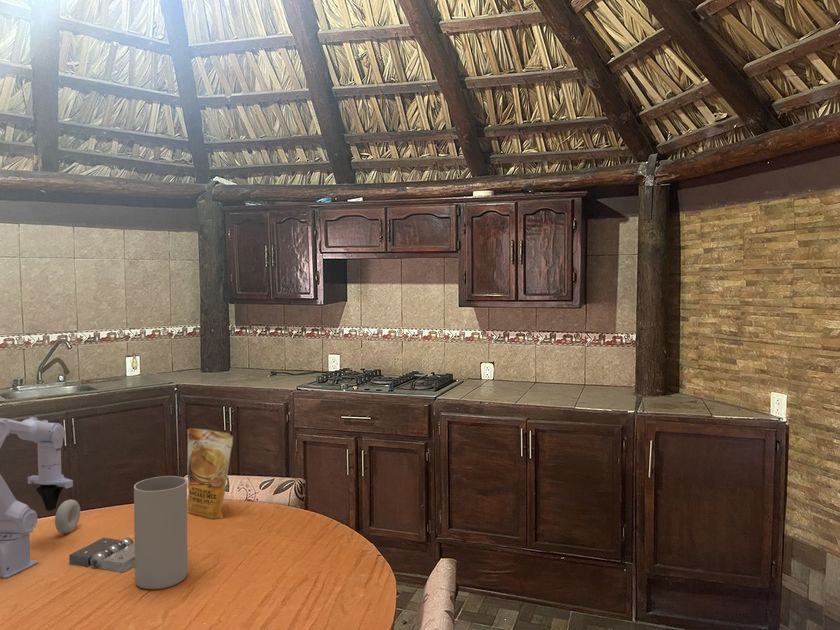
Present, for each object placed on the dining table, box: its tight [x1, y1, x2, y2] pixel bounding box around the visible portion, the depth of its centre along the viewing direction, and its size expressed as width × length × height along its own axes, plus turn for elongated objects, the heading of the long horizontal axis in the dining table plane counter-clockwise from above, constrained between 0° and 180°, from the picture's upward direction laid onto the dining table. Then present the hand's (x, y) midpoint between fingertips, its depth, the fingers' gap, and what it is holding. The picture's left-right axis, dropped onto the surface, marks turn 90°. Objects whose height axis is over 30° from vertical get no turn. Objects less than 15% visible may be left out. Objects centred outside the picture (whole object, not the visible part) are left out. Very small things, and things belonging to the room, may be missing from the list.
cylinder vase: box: [133, 475, 189, 591], centre depth 155 cm, size 12×12×25 cm
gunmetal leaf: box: [68, 537, 126, 568], centre depth 168 cm, size 12×10×4 cm
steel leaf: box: [90, 537, 135, 574], centre depth 166 cm, size 13×11×4 cm
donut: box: [54, 499, 81, 535], centre depth 185 cm, size 10×4×10 cm, turn 179°
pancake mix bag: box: [186, 427, 234, 520], centre depth 201 cm, size 7×19×28 cm, turn 62°
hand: (51, 509), depth 176 cm, fingers closed
